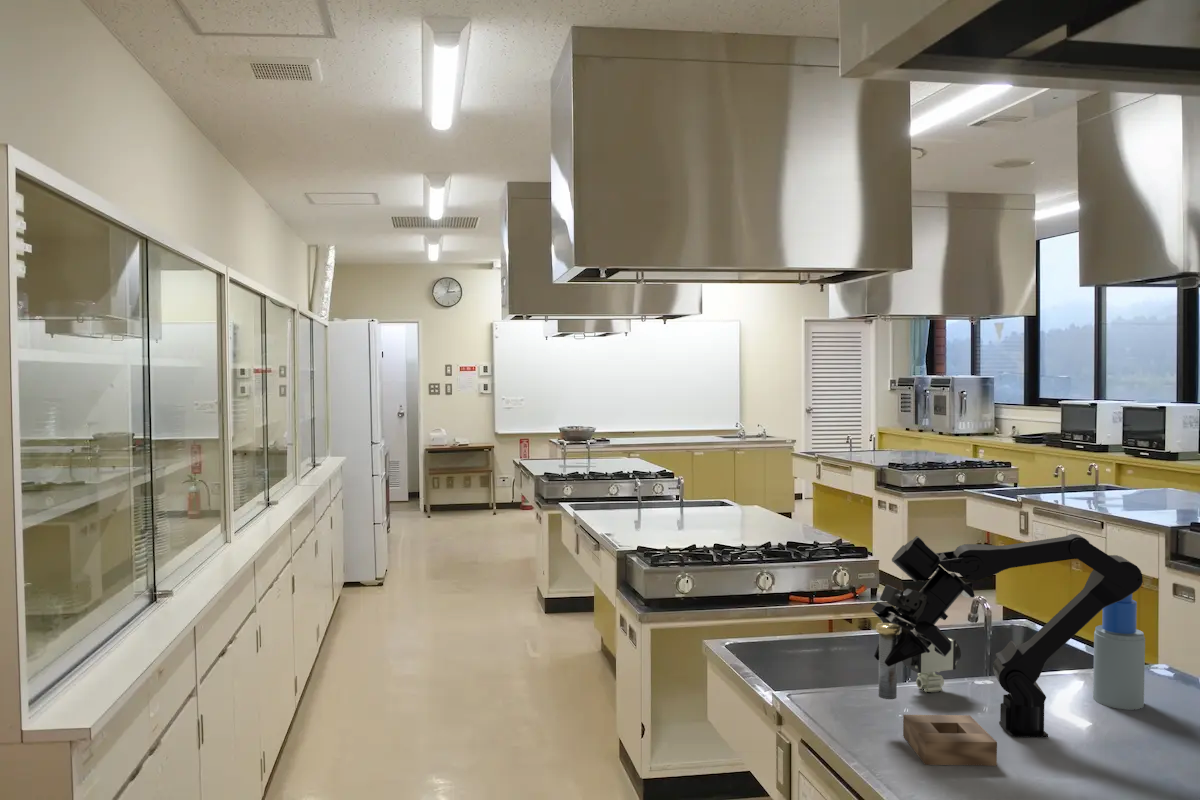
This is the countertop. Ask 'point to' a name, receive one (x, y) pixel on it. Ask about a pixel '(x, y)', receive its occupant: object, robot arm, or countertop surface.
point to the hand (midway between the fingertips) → (881, 661)
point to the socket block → (949, 740)
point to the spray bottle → (1119, 657)
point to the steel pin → (886, 645)
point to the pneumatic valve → (933, 666)
